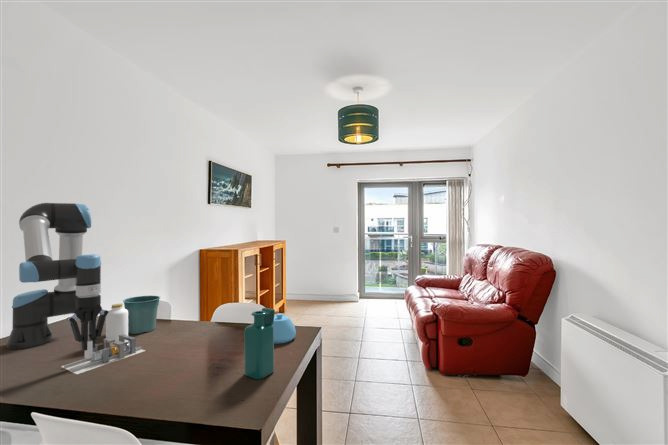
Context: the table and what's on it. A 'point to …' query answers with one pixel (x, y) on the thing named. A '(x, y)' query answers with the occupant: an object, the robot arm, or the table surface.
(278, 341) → the sugar bowl
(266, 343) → the teal bottle
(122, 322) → the potion bottle
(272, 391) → the table surface
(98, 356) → the tube
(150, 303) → the flower pot
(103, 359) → the collar board
